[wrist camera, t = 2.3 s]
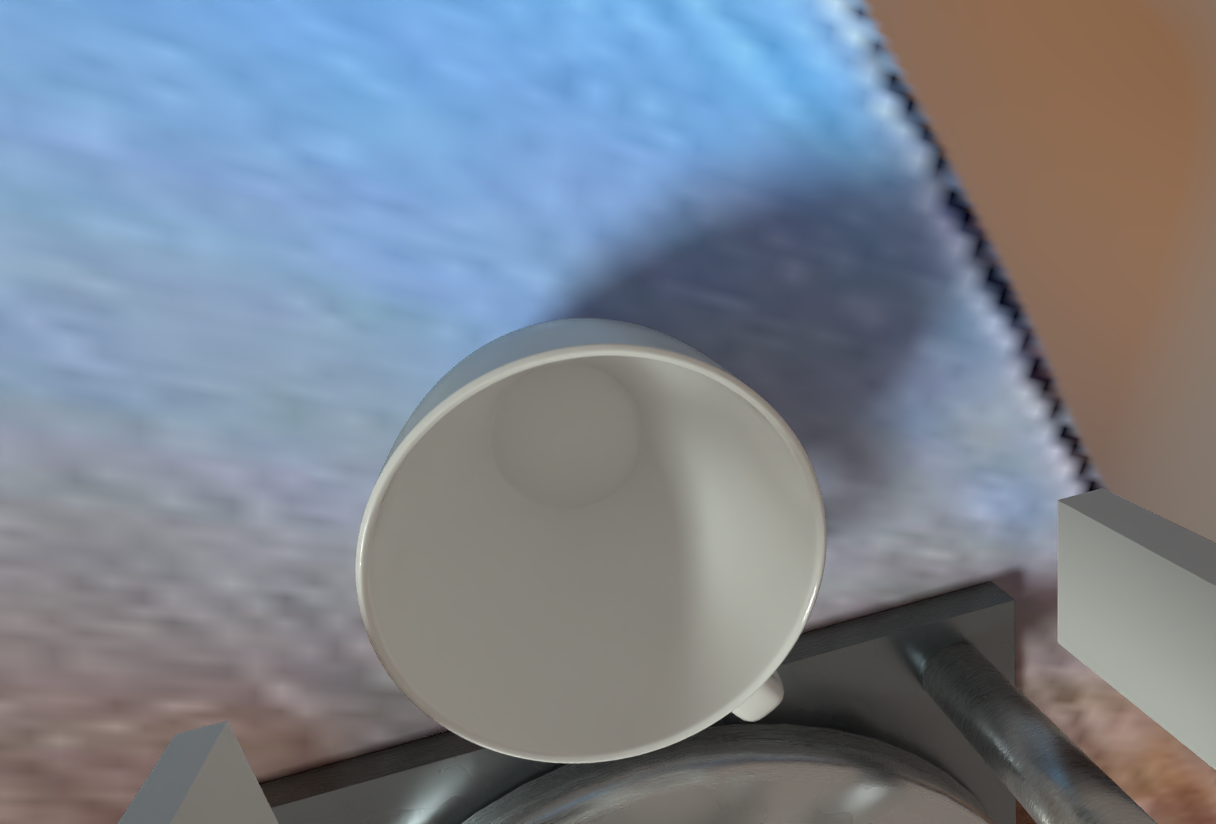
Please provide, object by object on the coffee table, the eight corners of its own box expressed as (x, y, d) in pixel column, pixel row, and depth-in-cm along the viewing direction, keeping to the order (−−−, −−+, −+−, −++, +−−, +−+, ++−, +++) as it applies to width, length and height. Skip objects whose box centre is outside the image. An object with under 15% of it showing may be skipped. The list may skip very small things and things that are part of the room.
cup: (581, 215, 16) (632, 230, 9) (815, 495, 19) (971, 649, 13) (345, 430, 16) (242, 580, 10) (608, 664, 20) (656, 890, 13)
